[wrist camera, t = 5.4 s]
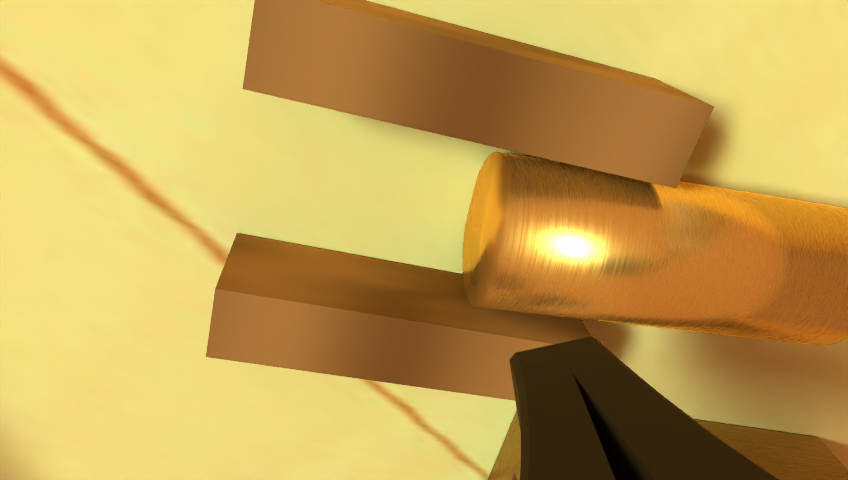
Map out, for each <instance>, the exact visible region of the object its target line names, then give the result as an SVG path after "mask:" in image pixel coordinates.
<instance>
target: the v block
mask: <svg viewBox="0 0 848 480" xmlns="http://www.w3.org/2000/svg"><path fill="white" fill-rule="evenodd" d="M695 421H696V422H698V423H699V424H700V425H702V426H703V427H704V428H705V429H707V430H708V431H710V432H711V433H712V434H714V435H715V436H717V437H718V438H719V439H721V440H722V441H723V442H725V443H726V444H728V445H729V446H731V447H732V448H733V449H735V450H736V451H738V452H739V453H741V454H742V455H744V456H745V457H747V458H748V459H749V460H751V461H752V462H754V463H755V464H757V465H758V466H760V467H761V468H763V469H764V470H766V471H767V472H769V473H770V474H772V475H773V476H775V477H776V478H778V479H779V480H848V470H847V469H846V468H845V467H844V466H843V465H842V464H841V462H840V461H839V460H838V459H837V458H836V457H835V456H834V455H833V454H832V453H831V452H830V451H829V449H828V448H827V447H826V446H825V445H824V444H823V443H822V442H821V441H820V440H819V439H818V438H817V437H813V436H806V435H799V434H792V433H785V432H778V431H771V430H764V429H757V428H750V427H743V426H736V425H729V424H722V423H715V422H708V421H701V420H695ZM520 469H521V432H520V426H519V419H518V413H517V411H516V413H515V416H514V418H513V421H512V423H511V426H510V428H509V430H508V433H507V435H506V438H505V440H504V442H503V445H502V447H501V450H500V452H499V454H498V457H497V459H496V462H495V464H494V466H493V469H492V471H491V474H490V476H489V478H488V480H520Z"/></svg>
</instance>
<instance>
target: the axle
mask: <svg viewBox="0 0 848 480" xmlns="http://www.w3.org/2000/svg"><path fill="white" fill-rule="evenodd" d="M463 279H464V287H465V291H466V295H467V298H468V300H469V302H470V304H471V305H472V306H474V307H480V308H489V309H498V310H507V311H516V312H525V313H534V314H543V315H552V316H561V317H570V318H578V319H587V320H596V321H605V322H614V323H623V324H632V325H641V326H650V327H659V328H668V329H677V330H686V331H695V332H704V333H713V334H722V335H731V336H740V337H749V338H758V339H767V340H776V341H785V342H794V343H802V344H811V345H828V344H834V343H836V342H839V341H842V340H844V339H845V338H847V337H848V209H846V208H843V207H839V206H833V205H827V204H820V203H814V202H808V201H802V200H795V199H789V198H783V197H776V196H770V195H764V194H758V193H751V192H745V191H739V190H733V189H726V188H720V187H714V186H707V185H701V184H695V183H689V182H682V181H679V183H678V185H677V187H676V188H671V187H667V186H663V185H658V184H654V183H650V182H645V181H641V180H636V179H632V178H628V177H623V176H619V175H615V174H610V173H606V172H602V171H597V170H593V169H589V168H584V167H580V166H576V165H571V164H567V163H563V162H557V161H551V160H544V159H538V158H532V157H526V156H519V155H513V154H507V153H501V152H493V153H492V154H490V155H489V156H488V158H487V159H486V160H485V162H484V164H483V165H482V167H481V169H480V172H479V174H478V176H477V180H476V184H475V188H474V192H473V197H472V201H471V205H470V209H469V213H468V217H467V221H466V225H465V233H464V243H463Z"/></svg>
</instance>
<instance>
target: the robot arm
mask: <svg viewBox="0 0 848 480" xmlns="http://www.w3.org/2000/svg"><path fill="white" fill-rule="evenodd" d="M509 361H510V368H511V374H512V381H513V387H514V394H515V400H516V406H517V413H518V419H519V426H520V432H521V469H520V480H779V479H778V478H776V477H775V476H773V475H772V474H770V473H769V472H767V471H766V470H764V469H763V468H761V467H760V466H758V465H757V464H755V463H754V462H752V461H751V460H749V459H748V458H747V457H745V456H744V455H742V454H741V453H739V452H738V451H736V450H735V449H733V448H732V447H731V446H729V445H728V444H726V443H725V442H723V441H722V440H721V439H719V438H718V437H717V436H715V435H714V434H712V433H711V432H710V431H708V430H707V429H705V428H704V427H703V426H702V425H700V424H699V423H698V422H696V421H695V420H694V419H692V418H691V417H690V416H688V415H687V414H686V413H684V412H683V411H682V410H681V409H679V408H678V407H677V406H675V405H674V404H673V403H671V402H670V401H669V400H667V399H666V398H665V397H664V396H662V395H661V394H660V393H659V392H657V391H656V390H655V389H654V388H653V387H651V386H650V385H649V384H648V383H646V382H645V381H644V380H643V379H642V378H640V377H639V376H638V375H637V374H636V373H634V372H633V371H632V370H631V369H630V368H629V367H627V366H626V365H625V364H624V363H623V362H621V361H620V360H619V359H618V358H617V357H616V356H615V355H613V354H612V353H611V352H610V351H609V350H608V349H607V348H605V347H604V346H603V345H602V344H601V343H600V342H599V341H597V340H596V339H594V338H593V337H591V336H590V337H585V338H581V339H576V340H571V341H567V342H562V343H558V344H553V345H548V346H544V347H539V348H534V349H530V350H525V351H521V352H516V353H515V354H514V355H513V356H512V357H511V358H510V360H509Z"/></svg>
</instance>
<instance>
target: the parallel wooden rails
mask: <svg viewBox="0 0 848 480" xmlns="http://www.w3.org/2000/svg"><path fill="white" fill-rule="evenodd" d="M243 89H246V90H250V91H254V92H259V93H263V94H267V95H272V96H276V97H280V98H285V99H289V100H293V101H298V102H302V103H306V104H311V105H315V106H319V107H324V108H328V109H332V110H337V111H341V112H345V113H350V114H354V115H358V116H363V117H367V118H372V119H376V120H380V121H385V122H389V123H393V124H398V125H402V126H406V127H411V128H415V129H419V130H424V131H428V132H432V133H437V134H441V135H445V136H450V137H454V138H458V139H463V140H467V141H471V142H476V143H480V144H484V145H489V146H493V147H497V148H502V149H506V150H511V151H515V152H519V153H524V154H528V155H532V156H537V157H541V158H545V159H550V160H554V161H558V162H563V163H567V164H571V165H576V166H580V167H584V168H589V169H593V170H597V171H602V172H606V173H610V174H615V175H619V176H623V177H628V178H632V179H636V180H641V181H645V182H650V183H654V184H658V185H663V186H667V187H671V188H676V187H677V185H678V183H679V181H680V179H681V177H682V174H683V172H684V170H685V168H686V166H687V164H688V161H689V159H690V157H691V155H692V153H693V151H694V149H695V146H696V144H697V142H698V140H699V138H700V136H701V133H702V131H703V129H704V127H705V125H706V123H707V121H708V118H709V116H710V114H711V112H712V110H713V108H714V107H713V106H711V105H709V104H707V103H705V102H703V101H701V100H699V99H697V98H695V97H693V96H690V95H688V94H686V93H684V92H682V91H680V90H678V89H676V88H674V87H672V86H669V85H667V84H665V83H663V82H661V81H659V80H657V79H655V78H651V77H647V76H644V75H640V74H636V73H632V72H629V71H625V70H621V69H618V68H614V67H610V66H607V65H603V64H599V63H595V62H592V61H588V60H584V59H581V58H577V57H573V56H570V55H566V54H562V53H558V52H555V51H551V50H547V49H544V48H540V47H536V46H532V45H529V44H525V43H521V42H518V41H514V40H510V39H507V38H503V37H499V36H495V35H492V34H488V33H484V32H481V31H477V30H473V29H469V28H466V27H462V26H458V25H455V24H451V23H447V22H444V21H440V20H436V19H432V18H429V17H425V16H421V15H418V14H414V13H410V12H406V11H403V10H399V9H395V8H392V7H388V6H384V5H381V4H377V3H373V2H369V1H366V0H255V3H254V10H253V18H252V25H251V32H250V40H249V47H248V54H247V61H246V69H245V76H244V83H243ZM585 337H590V334H589V332H588V330H587V329H586V327H585V325H584V324H583V322H582V320H581V319H578V318H570V317H561V316H552V315H543V314H534V313H525V312H516V311H507V310H498V309H489V308H480V307H474V306H472V305H471V304H470V302H469V300H468V298H467V295H466V291H465V287H464V279H463V274H457V273H452V272H446V271H441V270H435V269H430V268H424V267H419V266H414V265H408V264H403V263H397V262H392V261H386V260H381V259H375V258H370V257H364V256H359V255H353V254H348V253H342V252H337V251H331V250H326V249H321V248H315V247H310V246H304V245H299V244H293V243H288V242H282V241H277V240H271V239H266V238H260V237H255V236H249V235H244V234H238V233H237V235H236V237H235V240H234V242H233V245H232V247H231V250H230V253H229V255H228V258H227V260H226V263H225V265H224V268H223V270H222V273H221V276H220V278H219V281H218V283H217V286H216V288H215V295H214V302H213V310H212V317H211V324H210V332H209V339H208V346H207V353H206V357H211V358H218V359H225V360H232V361H239V362H246V363H253V364H260V365H267V366H274V367H282V368H289V369H296V370H303V371H310V372H317V373H324V374H331V375H338V376H345V377H352V378H359V379H367V380H374V381H381V382H388V383H395V384H402V385H409V386H416V387H423V388H430V389H437V390H444V391H452V392H459V393H466V394H473V395H480V396H487V397H494V398H501V399H508V400H515V394H514V387H513V381H512V374H511V368H510V361H509V360H510V358H511V357H512V356H513V355H514V354H515V353H516V352H521V351H525V350H530V349H534V348H539V347H544V346H548V345H553V344H558V343H562V342H567V341H571V340H576V339H581V338H585ZM515 401H516V400H515Z"/></svg>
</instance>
